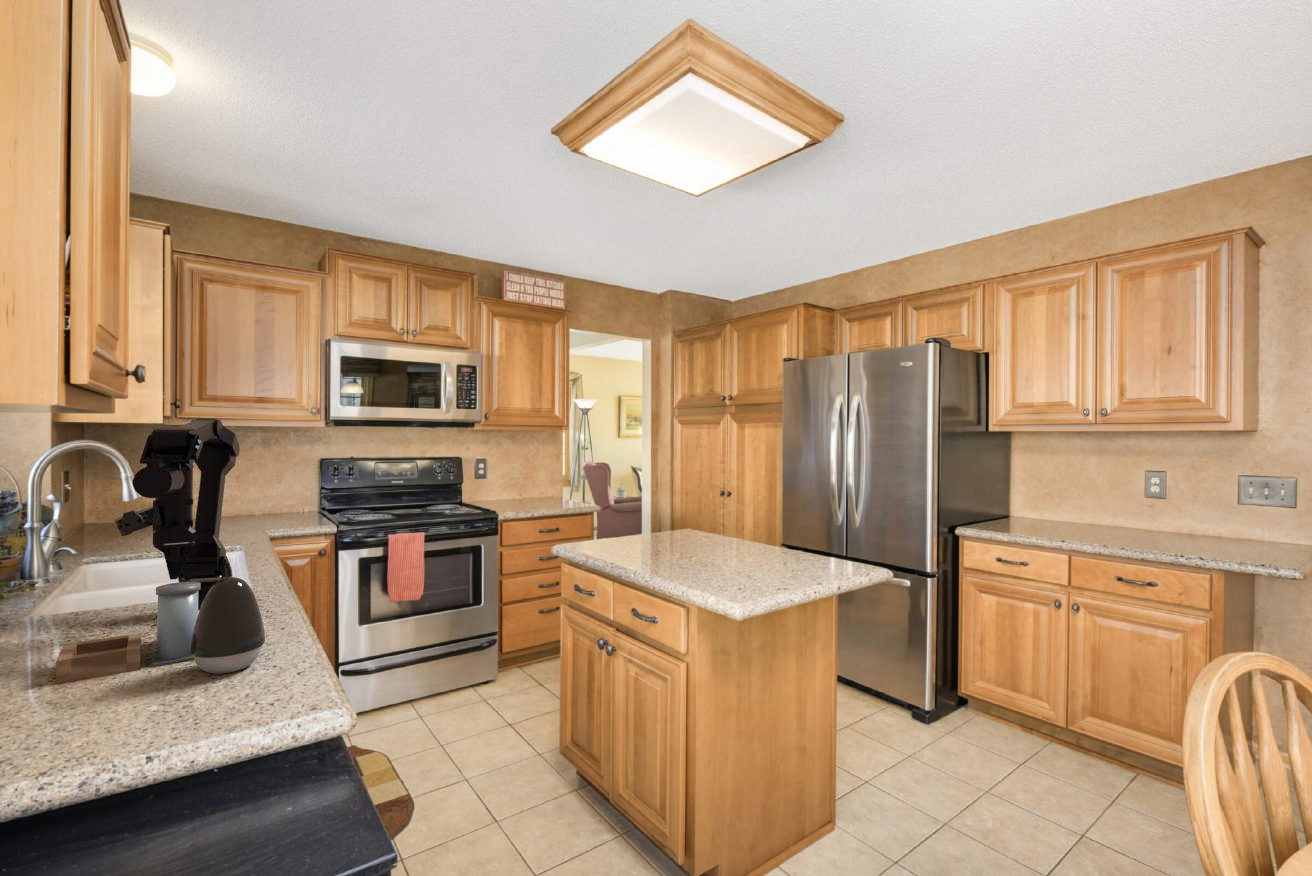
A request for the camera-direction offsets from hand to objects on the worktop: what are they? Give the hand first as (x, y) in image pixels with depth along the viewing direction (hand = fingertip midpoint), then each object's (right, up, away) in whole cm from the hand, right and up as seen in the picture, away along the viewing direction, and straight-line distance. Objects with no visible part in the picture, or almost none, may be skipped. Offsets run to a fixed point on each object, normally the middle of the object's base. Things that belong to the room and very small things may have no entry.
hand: (173, 575), depth 118 cm
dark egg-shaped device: (+21, -12, -15) cm, 29 cm away
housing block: (0, -12, -15) cm, 19 cm away
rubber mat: (+9, -12, -10) cm, 18 cm away
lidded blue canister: (+9, -12, -10) cm, 18 cm away
